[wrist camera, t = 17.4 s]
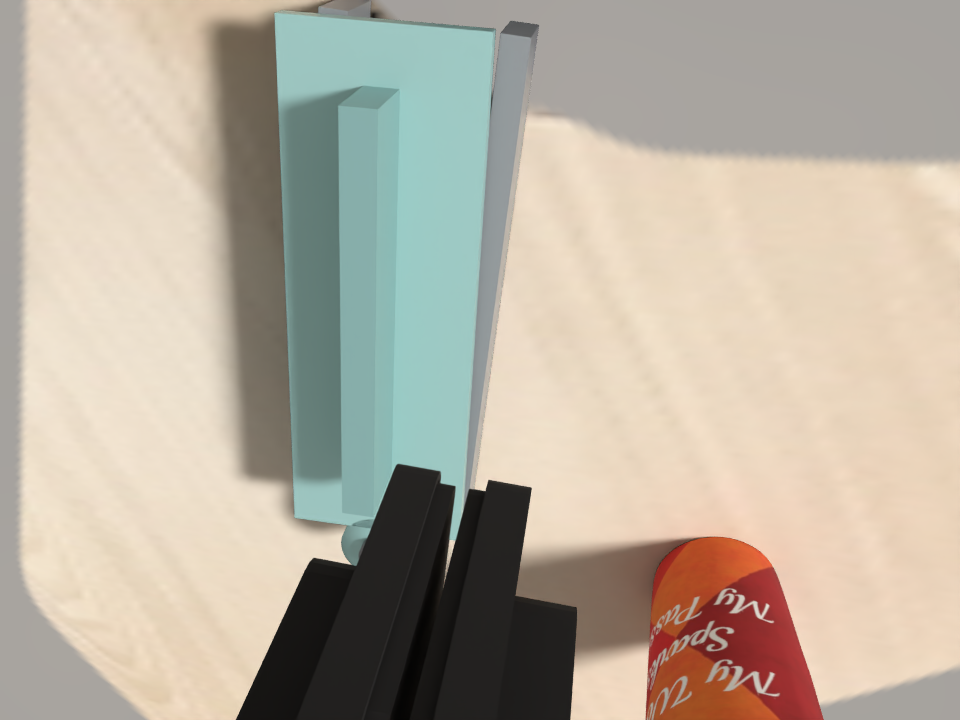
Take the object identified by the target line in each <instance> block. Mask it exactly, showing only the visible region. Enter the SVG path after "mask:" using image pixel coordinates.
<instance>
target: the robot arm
mask: <svg viewBox="0 0 960 720" xmlns="http://www.w3.org/2000/svg"><path fill="white" fill-rule="evenodd" d="M531 490H532V488H530V487H525V486H519V485H514V484H508V483H503V482H497V481H492V480H488V484H487V488H486V491H480V490H475V489H469V491H468V494H467V498H466V502H465V506H464V510H463V514H462V518H461V521H460V525H459V529H458V533H457V537H456V541H455V545H454V549H453V553H452V557H451V560H450V564H449V568H448V572H447V576H446V580H445V584H444V577H445V569H446V561H447V554H448V546H449V538H450V531H451V523H452V515H453V507H454V500H455V491H456V486H453V485H447V484H442V483H441V471H436V470H431V469H425V468H420V467H414V466H409V465H403V464H397V465H396V467H395V469H394V471H393V473H392V476H391V479H390V481H389V484H388V486H387V489H386V491H385V494H384V496H383V499H382V502H381V504H380V507H379V509H378V512H377V514H376V517H375V519H374V522H373V525H372V527H371V530H370V532H369V535H368V537H367V540H366V543H365V545H364V548H363V550H362V553H361V555H360V558H359V560H358V563H357V566H354V565H349V564H344V563H339V562H333V561H328V560H323V559H317V558H313V559H312V560H311V561H310V562H309V564H308V566H307V568H306V570H305V571H304V574H303V576H302V578H301V580H300V582H299V584H298V587H297V589H296V591H295V593H294V595H293V597H292V600H291V602H290V604H289V606H288V608H287V610H286V613H285V615H284V617H283V619H282V621H281V623H280V626H279V628H278V630H277V632H276V634H275V636H274V639H273V641H272V643H271V645H270V647H269V649H268V652H267V654H266V656H265V658H264V660H263V662H262V665H261V667H260V669H259V671H258V673H257V675H256V677H255V680H254V682H253V684H252V686H251V688H250V690H249V693H248V695H247V697H246V699H245V701H244V703H243V706H242V708H241V710H240V712H239V714H238V716H237V719H236V720H570V716H571V701H572V686H573V671H574V656H575V641H576V625H577V608H576V607H571V606H566V605H561V604H555V603H550V602H545V601H540V600H534V599H529V598H524V597H518V596H515V594H516V587H517V581H518V574H519V568H520V561H521V555H522V548H523V542H524V535H525V529H526V522H527V516H528V509H529V503H530V496H531ZM443 584H444V588H443Z"/></svg>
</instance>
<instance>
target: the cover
mask: <svg viewBox="0 0 960 720" xmlns="http://www.w3.org/2000/svg"><path fill="white" fill-rule="evenodd" d="M495 33H496V29H492V28H480V27H469V26H457V25H446V24H435V23H423V22H412V21H401V20H389V19H378V18H366V17H355V16H344V15H332V14H321V13H309V12H298V11H286V10H281V11H278V12H275V37H276V62H277V87H278V112H279V138H280V163H281V188H282V213H283V238H284V263H285V288H286V313H287V339H288V364H289V389H290V414H291V439H292V464H293V489H294V514H295V518H299V519H306V520H314V521H321V522H328V523H335V524H342V525H347V527H346V529H345V531H344V534H343V536H342V541H341V545H342V550H343V553H344V555H345V557H346V558H347V560H348V561H349V562H350V563H351V564H352V565H354V566H357V563H358V560H359V558H360V555H361V553H362V550H363V548H364V545H365V543H366V540H367V537H368V535H369V532H370V530H371V527H372V525H373V522H374V519H375V517H376V514H377V512H378V509H379V507H380V504H381V502H382V499H383V496H384V494H385V491H386V489H387V486H388V484H389V481H390V479H391V476H392V473H393V471H394V469H395V467H396V465H397V464H403V465H409V466H414V467H420V468H425V469H431V470H436V471H441V483H442V484H447V485H453V486H456V491H455V500H454V507H453V515H452V523H451V531H450V538H449V540H456V537H457V533H458V529H459V525H460V521H461V518H462V514H463V509H464V494H465V479H466V464H467V449H468V434H469V420H470V405H471V390H472V375H473V360H474V346H475V331H476V316H477V301H478V286H479V271H480V257H481V242H482V227H483V212H484V197H485V182H486V168H487V153H488V138H489V123H490V108H491V93H492V79H493V64H494V49H495V48H494V47H495Z"/></svg>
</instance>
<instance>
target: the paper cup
mask: <svg viewBox="0 0 960 720" xmlns="http://www.w3.org/2000/svg"><path fill="white" fill-rule="evenodd" d="M646 720H824V719H823V716H822V713H821V709H820V706H819V702H818V699H817V695H816V692H815V689H814V685H813V682H812V679H811V675H810V672H809V670H808V667H807V664H806V661H805V658H804V655H803V652H802V649H801V646H800V643H799V640H798V637H797V634H796V631H795V627H794V624H793V621H792V618H791V615H790V612H789V609H788V606H787V602H786V599H785V597H784V594H783V591H782V588H781V585H780V582H779V580H778V577H777V574H776V572H775V570H774V568H773V566H772V564H771V563H770V561H769V560H768V559H767V558H766V557H765V556H764V555H763V554H762V553H761V552H760V551H759V550H757V549H756V548H754V547H752V546H751V545H749V544H746V543H744V542H741V541H738V540H735V539H731V538H724V537H707V538H700V539H696V540H692V541H689V542H687V543H684V544H682V545H680V546H678V547H677V548H675V549H674V550H672V551H671V552H670V553H669V554H668V555H667V556H666V557H665V558H664V559H663V560H662V561H661V563H660V565H659V566H658V568H657V571H656V574H655V578H654V584H653V592H652V605H651V621H650V639H649V659H648V679H647V701H646Z"/></svg>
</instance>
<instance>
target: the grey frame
mask: <svg viewBox="0 0 960 720" xmlns="http://www.w3.org/2000/svg"><path fill="white" fill-rule="evenodd" d="M370 9H371V0H334V1H331V2H329V3H326V4H324V5H322V6H319V7H318V13H321V14H332V15H344V16H355V17H366V18H370ZM538 29H539V25H537V24H530V23H523V22H516V21H510V22H509V24H508V25H507V26H506V27H505V28H504V30H503V31H502V32H501V33H500V42H499V50H498V58H497V66H496V75H495V83H494V91H493V99H492V108H491V116H490V124H489V138H488V153H487V168H486V182H485V197H484V212H483V227H482V242H481V257H480V271H479V286H478V301H477V316H476V331H475V346H474V360H473V375H472V390H471V405H470V420H469V434H468V449H467V464H466V479H465V494H464V506H465V502H466V498H467V494H468V491H469V489H474V487H475V480H476V473H477V466H478V458H479V451H480V444H481V437H482V430H483V423H484V416H485V408H486V401H487V394H488V387H489V380H490V373H491V365H492V358H493V351H494V344H495V337H496V330H497V323H498V315H499V308H500V301H501V294H502V287H503V280H504V272H505V265H506V258H507V251H508V244H509V237H510V230H511V222H512V215H513V208H514V201H515V194H516V187H517V179H518V172H519V165H520V158H521V151H522V144H523V137H524V129H525V122H526V115H527V108H528V101H529V94H530V86H531V79H532V71H533V64H534V58H535V51H536V43H537V36H538ZM463 510H464V509H463Z"/></svg>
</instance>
